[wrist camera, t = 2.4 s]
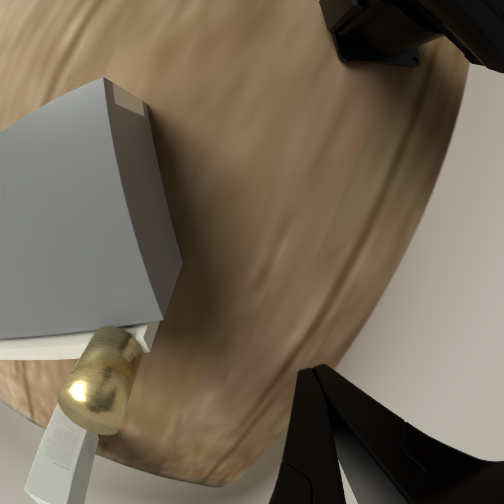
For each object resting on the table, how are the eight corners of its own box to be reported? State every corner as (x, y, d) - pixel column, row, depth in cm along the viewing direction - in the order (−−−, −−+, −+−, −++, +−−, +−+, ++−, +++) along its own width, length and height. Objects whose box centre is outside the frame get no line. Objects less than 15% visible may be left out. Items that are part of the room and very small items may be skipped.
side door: (165, 262, 17) (106, 391, 7) (176, 296, 18) (139, 436, 8) (29, 291, 17) (-52, 375, 7) (42, 318, 17) (-28, 408, 7)
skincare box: (58, 396, 21) (18, 487, 9) (96, 411, 21) (65, 510, 10) (68, 428, 22) (40, 507, 11) (102, 440, 23) (81, 525, 12)
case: (146, 103, 14) (103, 76, 8) (183, 263, 17) (163, 319, 11) (-10, 176, 14) (-69, 191, 7) (26, 296, 17) (-19, 339, 11)
